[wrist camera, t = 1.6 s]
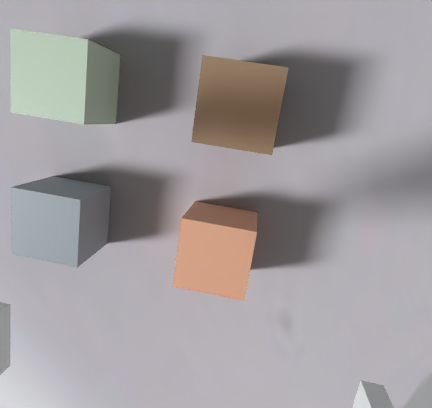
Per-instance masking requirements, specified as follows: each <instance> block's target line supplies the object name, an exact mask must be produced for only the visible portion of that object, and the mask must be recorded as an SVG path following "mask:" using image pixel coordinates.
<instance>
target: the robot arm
mask: <svg viewBox="0 0 432 408" xmlns="http://www.w3.org/2000/svg"><path fill="white" fill-rule="evenodd" d="M9 366H10V304H6V303H1V302H0V375H1V374H2V373H3V372H4V371H5V370H6V369H7V368H8V367H9ZM352 408H394V407H393V405H392V403H391V401H390V399H389V396H388V394H387V392H386V390H385V388H384V386H383V385H379V384H374V383H370V382H365V381H360V384H359V388H358V391H357V394H356V397H355V401H354V404H353V407H352Z"/></svg>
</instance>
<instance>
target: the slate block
mask: <svg viewBox="0 0 432 408" xmlns="http://www.w3.org/2000/svg"><path fill="white" fill-rule="evenodd" d="M110 200H111V186H107V185H101V184H95V183H90V182H84V181H78V180H73V179H67V178H61V177H56V176H52V177H49V178H45V179H41V180H37V181H33V182H29V183H26V184H22V185H18V186H14V187H11V215H12V254H13V255H18V256H23V257H28V258H33V259H38V260H43V261H48V262H53V263H58V264H63V265H68V266H73V267H78V266H80V265H81V264H82V263H83V262H85V261H86V260H87V259H88V258H90V257H91V256H92V255H93V254H95V253H96V252H97V251H98V250H100V249H101V248H102V247H103V246H105V245H106V244H107V243H108V229H109V214H110Z"/></svg>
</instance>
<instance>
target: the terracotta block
mask: <svg viewBox="0 0 432 408" xmlns="http://www.w3.org/2000/svg"><path fill="white" fill-rule="evenodd" d="M257 221H258V212H253V211H248V210H242V209H237V208H231V207H225V206H220V205H214V204H208V203H203V202H197V201H195V202H194V204H193V205H192V206H191V207H190V209H189V210H188V211H187V212H186V213H185V215H184V216H183V217H182V219H181V227H180V235H179V243H178V250H177V258H176V266H175V274H174V281H173V287H178V288H183V289H188V290H193V291H198V292H203V293H208V294H213V295H218V296H223V297H228V298H233V299H238V300H243V301H244V299H245V294H246V289H247V283H248V278H249V273H250V268H251V262H252V257H253V252H254V247H255V241H256V236H257Z"/></svg>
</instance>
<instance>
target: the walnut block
mask: <svg viewBox="0 0 432 408" xmlns="http://www.w3.org/2000/svg"><path fill="white" fill-rule="evenodd" d="M288 69H289V67H282V66H275V65H268V64H261V63H254V62H247V61H239V60H232V59H225V58H218V57H211V56H204V55H203V56H202V64H201V72H200V80H199V87H198V95H197V103H196V111H195V119H194V126H193V134H192V142H195V143H202V144H208V145H214V146H220V147H226V148H232V149H239V150H245V151H251V152H257V153H263V154H269V155H272V153H273V147H274V142H275V137H276V132H277V127H278V121H279V116H280V111H281V106H282V100H283V95H284V90H285V85H286V79H287V74H288Z"/></svg>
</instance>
